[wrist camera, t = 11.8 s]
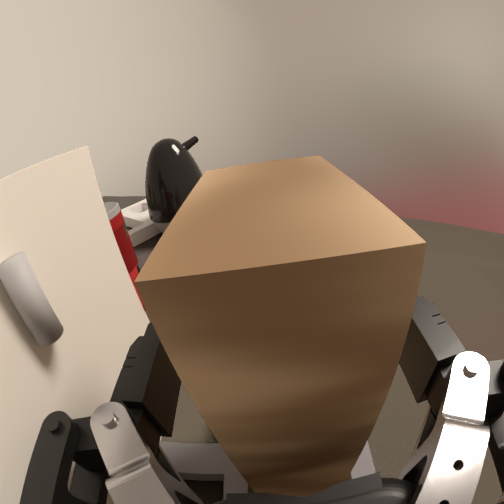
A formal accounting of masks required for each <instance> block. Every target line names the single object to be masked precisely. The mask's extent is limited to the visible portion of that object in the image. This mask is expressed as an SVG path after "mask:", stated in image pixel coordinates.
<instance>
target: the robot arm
mask: <svg viewBox="0 0 504 504" xmlns="http://www.w3.org/2000/svg"><path fill="white" fill-rule="evenodd" d="M399 364H400V366H401V368H402V370H403V373H404V375H405V377H406V379H407V381H408V384H409V386H410V388H411V390H412V393H413V395H414V397H415V400H416V402H417V403H419V402H422V401H425V400H428V402H429V405H430V406H429V407H428V410H427V413H426V416H425V419H424V422H423V425H422V428H421V431H420V434H419V437H418V439H417V442H416V445H415V447H414V450H413V452H412V454H411V456H410V458H409V459H408V461H407V463H406V465H405V466H404V468H403V470H402V472H401V474H400V476H399V479H396V478H381V476H380V472H377V473H373V474H370V475H366V476H363V477H359V478H355V479H351V480H346V481H343V482H340V483H338V484H336V485H334V486H331V487H329V488H327V489H324V490H322V491H319V492H317V493H314V494H312V495H309V496H304V497H299V496H289V495H280V494H272V493H265V492H261V493H226V500H222V501H219V502H216V503H213V504H471V502H472V499H473V496H474V493H475V490H476V487H477V484H478V481H479V477H480V474H481V470H482V466H483V462H484V458H485V454H486V450H487V445H489V448H490V451H491V454H492V457H493V460H494V464H495V467H496V470H497V474H498V477H499V481H500V484H501V488H502V492H503V493H502V495H501V497H500V500H499V502H498V503H497V504H504V360H496V361H486V360H485V359H484V358H483V357H482V356H481V355H479V354H477V353H475V352H467V351H466V350H465V348H464V347H463V345H462V344H461V342H460V341H459V339H458V338H457V336H456V335H455V333H454V332H453V330H452V329H451V327H450V326H449V325H448V323H446V320H445V319H444V318H443V316H442V315H440V312H439V311H438V309H437V308H436V307H435V305H434V304H433V303H431V302H430V301H428V300H427V299H425V298H424V297H418V296H417V298H416V302H415V306H414V311H413V315H412V319H411V322H410V326H409V330H408V334H407V337H406V341H405V344H404V347H403V351H402V354H401V357H400V360H399ZM180 385H181V380H180V378H179V376H178V374H177V372H176V370H175V369H174V367H173V365H172V363H171V361H170V359H169V357H168V355H167V353H166V351H165V349H164V347H163V345H162V343H161V341H160V339H159V337H158V335H157V333H156V331H155V329H154V326H153V324H152V322H150V323H149V324H148V326H147V328H146V331H145V334H144V336H139V337H138V338H137V339H136V340H135V341H134V342H133V344H132V345H131V346H130V348H129V351H128V353H127V356H126V359H125V361H124V363H123V368H122V369H121V371H120V374H119V377H118V380H117V382H116V385H115V388H114V391H113V393H112V396H111V399H110V401H109V402H107V403H104V404H102V405H100V406H99V407H97V408H96V409H95V411H94V412H93V414H92V416H89V417H84V418H78V419H72V418H70V417H69V416H68V415H67V414H66V413H65V412H63V411H55V412H52V413H50V414H49V415H48V416H47V417H46V418H45V419H44V421H43V423H42V426H41V428H40V431H39V434H38V437H37V440H36V443H35V446H34V449H33V453H32V456H31V459H30V463H29V466H28V470H27V474H26V477H25V481H24V485H23V490H22V494H21V499H20V504H106V502H107V495H108V492H109V494H110V496H111V498H112V500H113V502H114V504H204V503H203V502H202V501H201V499H200V498H199V497H198V496H197V495H196V494H195V493H194V492H193V491H192V490H191V489H190V488H189V487H188V485H187V484H186V483H185V482H184V480H183V479H182V478H181V476H180V475H179V473H178V472H177V470H176V469H175V467H174V466H173V464H172V463H171V461H170V460H169V458H168V457H167V455H166V454H165V452H164V451H163V449H162V447H161V446H160V445H159V443H160V437H161V436H166V437H172V431H173V425H174V419H175V413H176V407H177V402H178V396H179V391H180ZM73 461H74V462H75V467H74V471H73V476H72V481H71V486H70V491H69V490H68V479H69V475H70V470H71V466H72V462H73Z"/></svg>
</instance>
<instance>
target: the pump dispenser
mask: <svg viewBox="0 0 504 504" xmlns="http://www.w3.org/2000/svg"><path fill="white" fill-rule="evenodd" d="M197 142H198V138H197V137H196V136H194V137H192V138H191V139H189V140H188V141H186V142H184V143H183V144H181V143H180V142H179V141H177V140H175V139H163V140H160V141H159V142H157V143H156V144H155V145H154V146H153V147H152V149H151V152H150V154H149V158H148V162H147V169H146V181H145V188H146V201H147V208H148V213H149V217H150V220H151V221H152V222H154V224H155V226H156V227H157V228H158V229H159V230H160V231H161V232H162V233H164V232H165V230H166V229H167V227H168V226H169V224H170V222H171V221H172V219H173V218H174V216H175V215H176V213H177V212H178V210H179V209H180V207H181V206H182V204H183V203H184V201H185V200H186V198H187V197H188V195H189V194H190V192H191V191H192V190H193V188H194V187H195V185H196V184H197V182H198V181H199V180H200V178H201V177H202V173H201V171H200V169H199V167H198V165H197V164H196V162H195V160H194V159H193V157H192V156H191V155H190V153H189V152H188V150H189V149H190V148H191V147H192V146H193V145H195V143H197Z"/></svg>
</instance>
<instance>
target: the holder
mask: <svg viewBox="0 0 504 504" xmlns="http://www.w3.org/2000/svg"><path fill="white" fill-rule="evenodd" d="M121 212H122V215H123V218H124V221H125V224H126V226H128V227H131V228H133V229H131V230H129V231H128V233H129V236H130V239H131V242H132V245H133V247H135V246H137V245H138V244H140V243H142V242H144V241H146V240H148V239H150V238H152V237H154V236H156V235H157V234H159V233H161V231H160V230H159V229H158V228H157V227H156V226H155V224H154V222H152V221H151V220H150V217H149V213H148V208H147V201H146V199H145V200H142V201H140V202H138V203H135V204H133V205H131V206H129V207H127V208H124V209H122V210H121Z"/></svg>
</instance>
